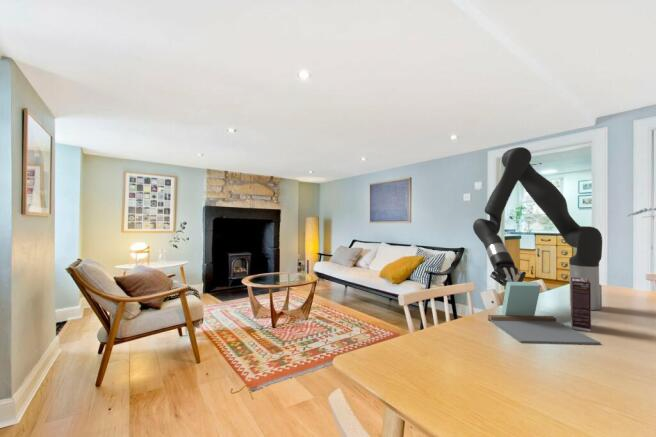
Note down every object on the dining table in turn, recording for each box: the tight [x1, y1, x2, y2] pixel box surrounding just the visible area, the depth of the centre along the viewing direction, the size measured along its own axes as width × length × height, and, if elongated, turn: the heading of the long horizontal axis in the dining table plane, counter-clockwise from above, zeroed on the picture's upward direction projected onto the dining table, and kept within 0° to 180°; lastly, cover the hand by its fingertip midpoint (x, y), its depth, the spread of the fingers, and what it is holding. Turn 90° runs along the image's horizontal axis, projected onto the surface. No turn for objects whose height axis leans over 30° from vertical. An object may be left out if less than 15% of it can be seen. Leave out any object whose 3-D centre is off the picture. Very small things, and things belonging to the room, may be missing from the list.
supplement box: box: [570, 277, 592, 333], centre depth 98 cm, size 9×5×16 cm, turn 143°
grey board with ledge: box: [487, 314, 602, 346], centre depth 94 cm, size 20×22×2 cm
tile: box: [500, 281, 542, 316], centre depth 104 cm, size 2×10×14 cm, turn 86°
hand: (517, 294), depth 106 cm, fingers closed
